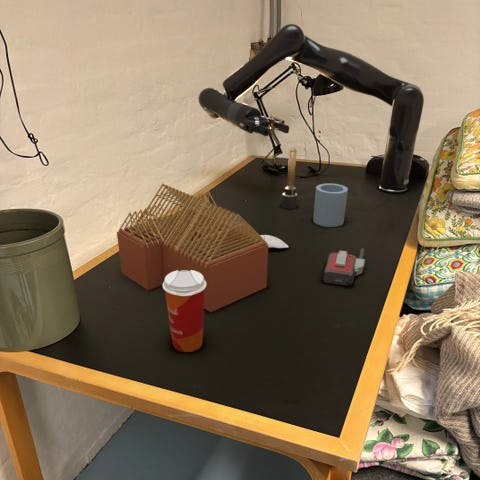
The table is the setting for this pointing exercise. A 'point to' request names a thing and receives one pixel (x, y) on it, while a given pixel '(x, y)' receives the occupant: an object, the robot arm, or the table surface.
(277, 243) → the pincushion
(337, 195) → the jar
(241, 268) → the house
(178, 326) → the paper cup
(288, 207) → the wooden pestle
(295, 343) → the table surface
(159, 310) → the table surface
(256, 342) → the table surface
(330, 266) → the walkie-talkie
